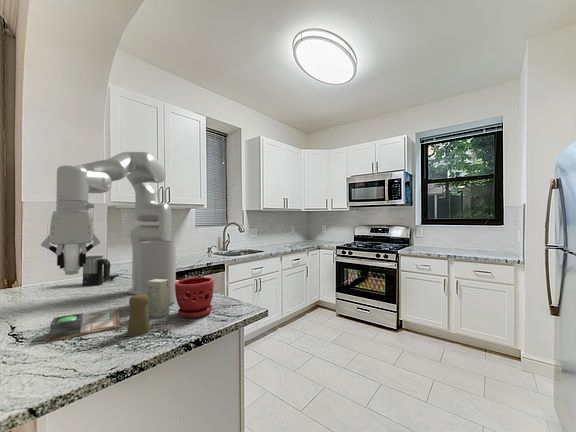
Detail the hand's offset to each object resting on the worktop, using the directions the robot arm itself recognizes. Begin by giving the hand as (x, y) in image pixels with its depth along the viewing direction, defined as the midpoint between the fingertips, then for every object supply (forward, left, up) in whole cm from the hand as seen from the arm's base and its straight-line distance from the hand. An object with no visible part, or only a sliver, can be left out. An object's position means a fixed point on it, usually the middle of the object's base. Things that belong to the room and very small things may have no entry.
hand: (71, 266), depth 79 cm
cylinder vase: (-26, -14, -19) cm, 35 cm away
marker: (0, 0, -2) cm, 2 cm away
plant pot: (-35, +6, -19) cm, 40 cm away
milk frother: (-6, -73, -20) cm, 76 cm away
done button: (+1, +2, -17) cm, 17 cm away
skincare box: (-24, 0, -19) cm, 31 cm away
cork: (-17, +13, -19) cm, 29 cm away
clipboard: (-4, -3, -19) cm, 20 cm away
